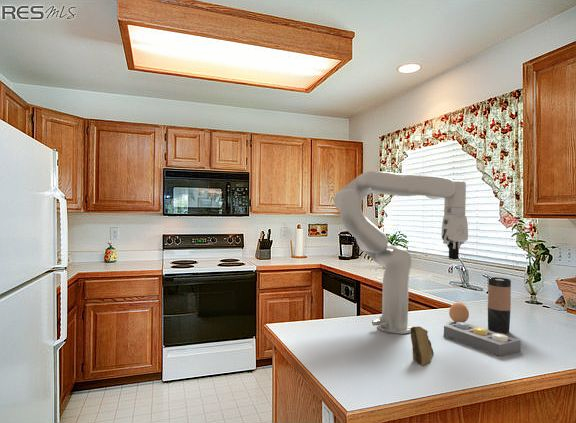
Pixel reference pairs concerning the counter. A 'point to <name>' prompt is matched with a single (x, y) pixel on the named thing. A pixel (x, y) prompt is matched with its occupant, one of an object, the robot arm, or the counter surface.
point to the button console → (482, 340)
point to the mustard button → (480, 331)
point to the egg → (459, 312)
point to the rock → (421, 346)
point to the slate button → (462, 325)
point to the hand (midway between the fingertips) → (453, 258)
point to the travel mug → (499, 304)
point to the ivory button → (500, 337)
